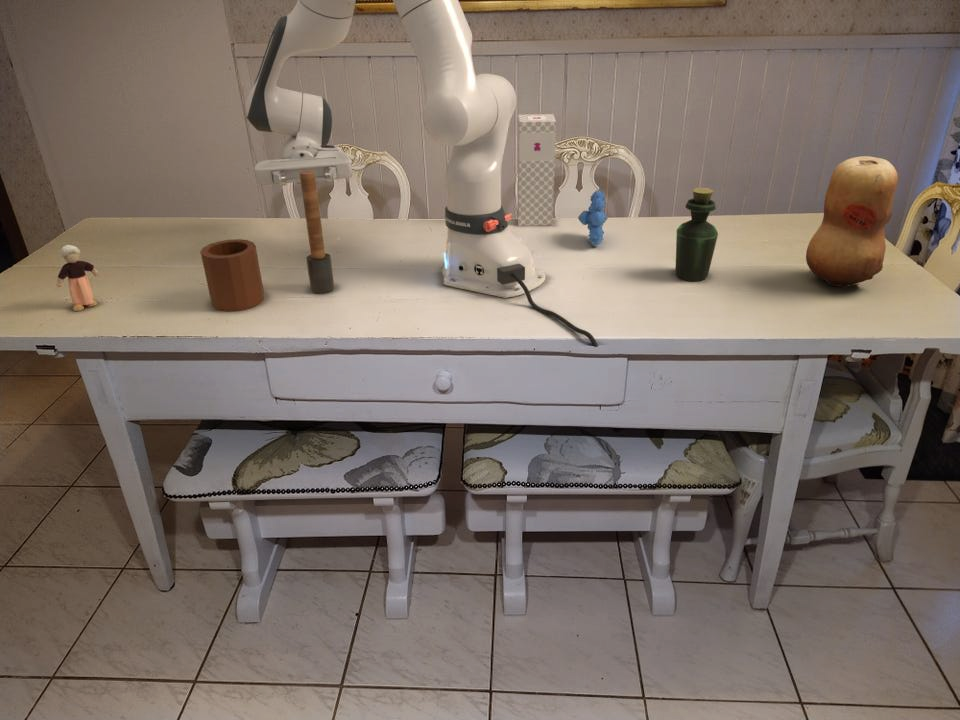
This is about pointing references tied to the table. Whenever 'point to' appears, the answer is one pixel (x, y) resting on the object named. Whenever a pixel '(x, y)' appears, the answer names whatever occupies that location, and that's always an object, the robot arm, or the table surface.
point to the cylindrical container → (233, 274)
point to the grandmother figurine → (77, 277)
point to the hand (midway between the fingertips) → (306, 179)
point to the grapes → (595, 218)
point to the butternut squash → (854, 222)
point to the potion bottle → (696, 238)
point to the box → (536, 169)
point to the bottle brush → (315, 238)
